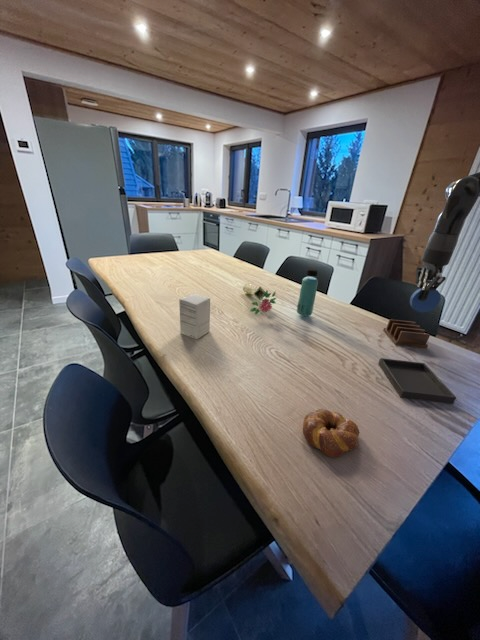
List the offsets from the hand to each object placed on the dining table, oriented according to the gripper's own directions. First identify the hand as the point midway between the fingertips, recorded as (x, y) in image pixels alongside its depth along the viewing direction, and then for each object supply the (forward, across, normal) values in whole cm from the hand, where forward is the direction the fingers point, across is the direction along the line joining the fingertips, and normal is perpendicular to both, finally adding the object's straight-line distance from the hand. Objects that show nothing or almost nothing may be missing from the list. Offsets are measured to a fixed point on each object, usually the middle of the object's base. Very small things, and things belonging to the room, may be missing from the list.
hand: (419, 298), depth 91 cm
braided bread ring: (+16, -50, +38) cm, 65 cm away
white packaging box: (+16, -13, +76) cm, 79 cm away
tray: (+16, -27, +10) cm, 33 cm away
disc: (0, 0, -2) cm, 2 cm away
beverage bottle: (+16, +11, +36) cm, 41 cm away
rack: (+16, 0, 0) cm, 16 cm away
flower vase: (+16, +16, +56) cm, 60 cm away
